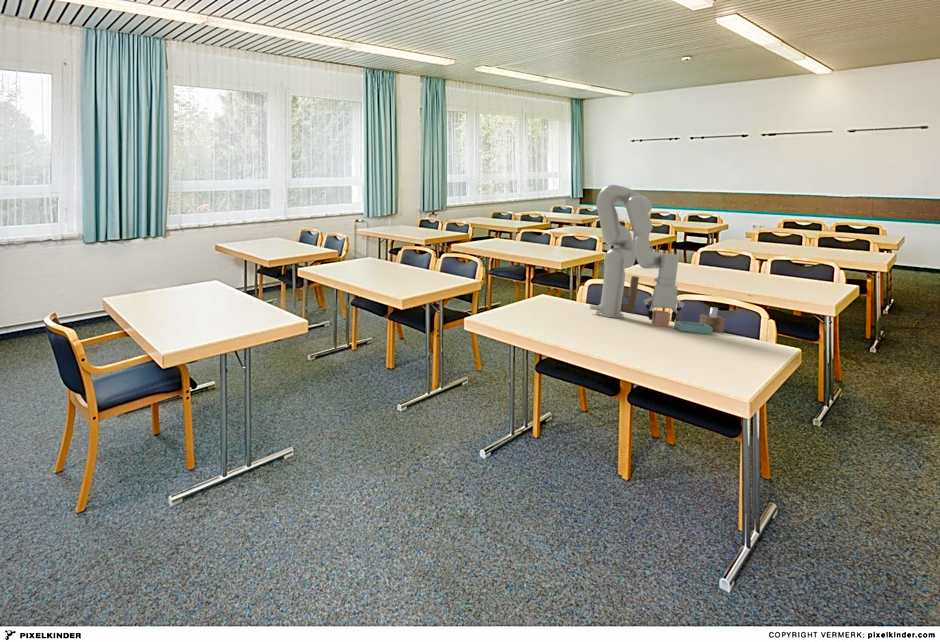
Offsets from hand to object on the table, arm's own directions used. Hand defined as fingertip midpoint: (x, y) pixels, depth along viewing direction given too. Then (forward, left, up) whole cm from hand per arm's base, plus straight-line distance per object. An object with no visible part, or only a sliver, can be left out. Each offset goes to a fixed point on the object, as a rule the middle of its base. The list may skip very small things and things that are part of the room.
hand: (661, 320), depth 258 cm
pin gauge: (+22, 0, -2) cm, 22 cm away
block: (0, 0, -2) cm, 2 cm away
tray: (+12, -8, -2) cm, 14 cm away
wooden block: (-10, +34, -2) cm, 36 cm away
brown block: (+22, 0, -2) cm, 22 cm away
